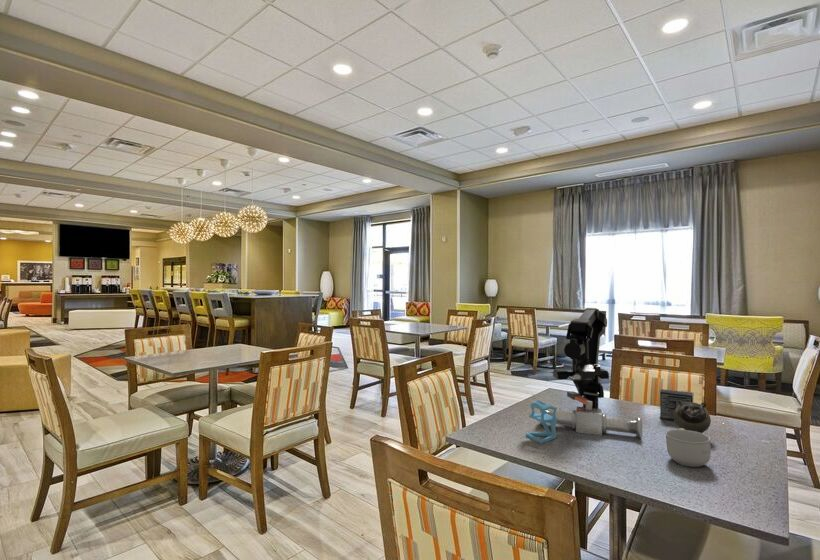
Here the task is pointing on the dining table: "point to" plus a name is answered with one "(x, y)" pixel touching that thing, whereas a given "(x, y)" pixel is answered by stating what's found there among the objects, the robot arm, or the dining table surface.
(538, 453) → the dining table surface
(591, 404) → the valve lever
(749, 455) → the dining table surface
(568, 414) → the valve manifold
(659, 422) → the dining table surface
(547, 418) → the chair
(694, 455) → the teacup
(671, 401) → the small box
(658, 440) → the dining table surface
